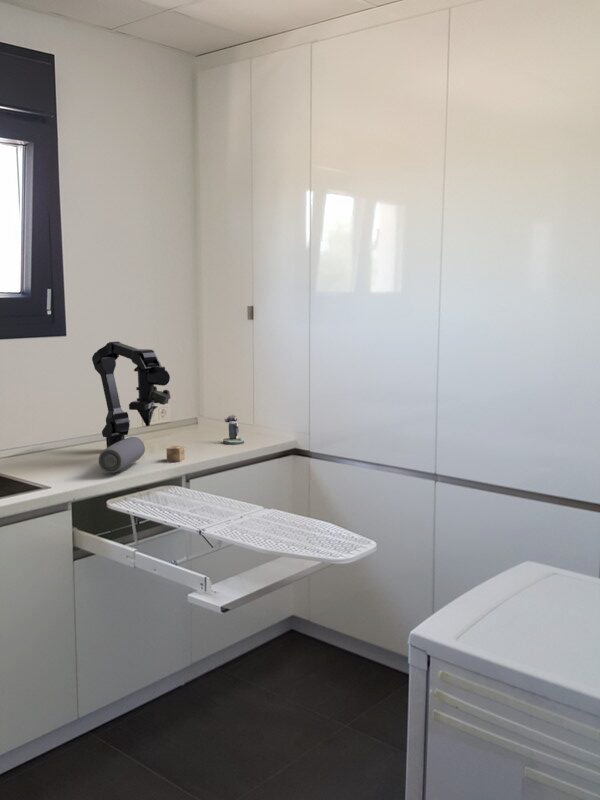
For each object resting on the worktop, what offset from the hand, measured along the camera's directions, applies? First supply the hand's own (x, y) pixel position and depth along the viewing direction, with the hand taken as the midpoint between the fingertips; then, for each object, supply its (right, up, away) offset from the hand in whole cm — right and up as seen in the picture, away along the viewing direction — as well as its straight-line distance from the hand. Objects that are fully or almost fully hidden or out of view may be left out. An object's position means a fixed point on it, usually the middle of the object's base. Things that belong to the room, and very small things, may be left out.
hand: (147, 425), depth 296 cm
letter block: (+11, -13, -2) cm, 17 cm away
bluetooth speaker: (-6, -15, -16) cm, 22 cm away
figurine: (+29, -8, +30) cm, 43 cm away
